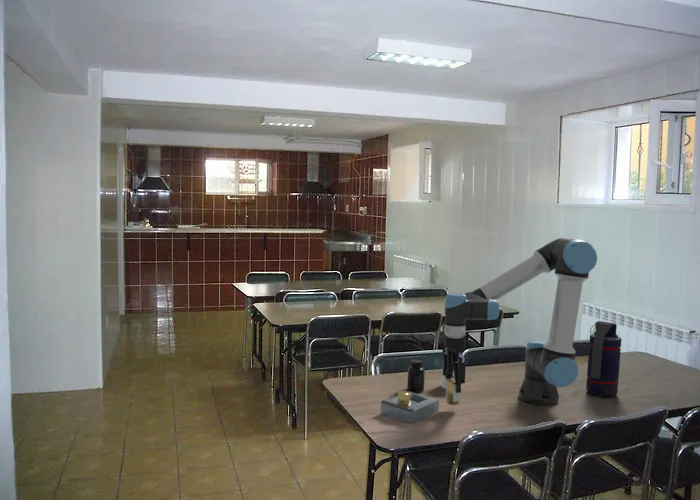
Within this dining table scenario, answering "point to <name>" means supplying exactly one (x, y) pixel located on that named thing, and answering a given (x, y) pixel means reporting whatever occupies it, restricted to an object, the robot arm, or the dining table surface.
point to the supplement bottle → (416, 376)
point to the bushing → (450, 393)
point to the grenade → (603, 360)
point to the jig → (409, 406)
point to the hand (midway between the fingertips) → (453, 398)
